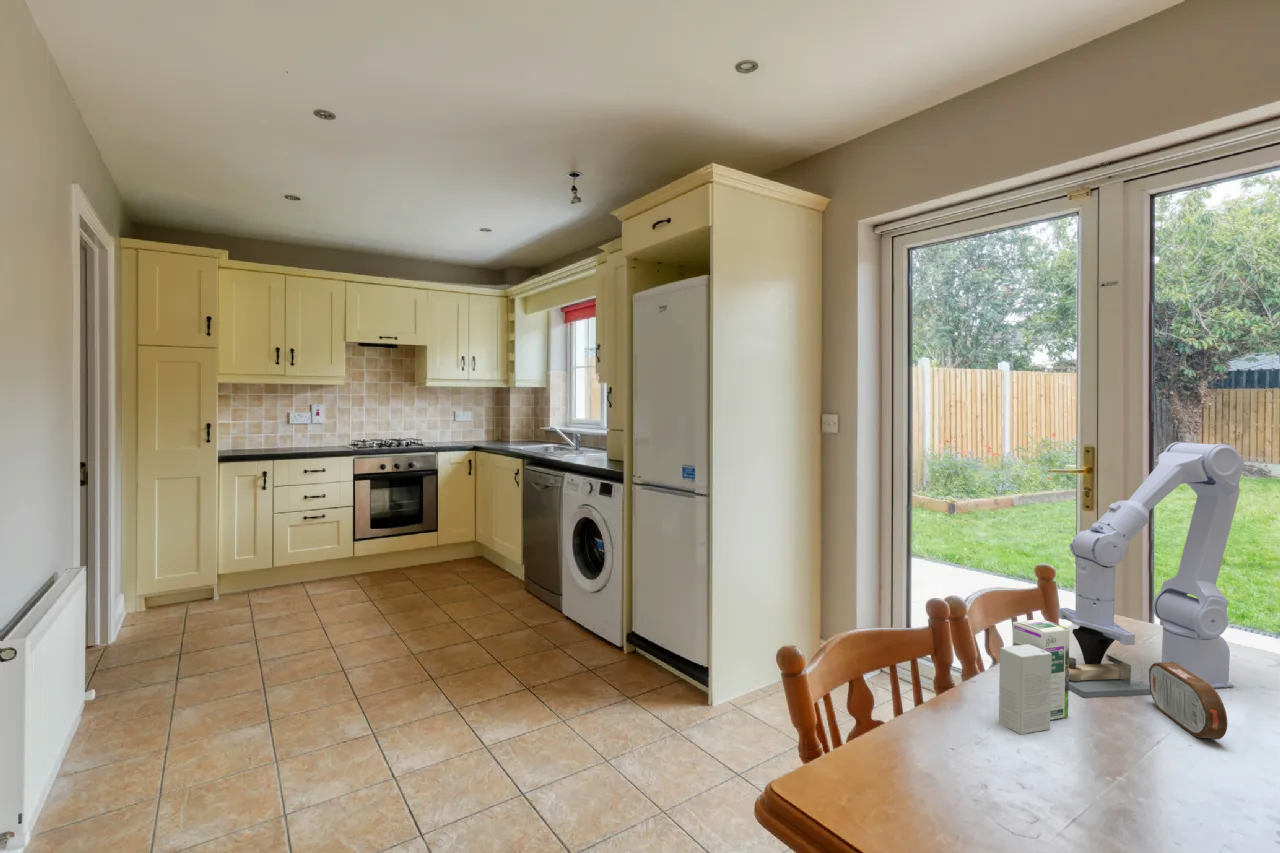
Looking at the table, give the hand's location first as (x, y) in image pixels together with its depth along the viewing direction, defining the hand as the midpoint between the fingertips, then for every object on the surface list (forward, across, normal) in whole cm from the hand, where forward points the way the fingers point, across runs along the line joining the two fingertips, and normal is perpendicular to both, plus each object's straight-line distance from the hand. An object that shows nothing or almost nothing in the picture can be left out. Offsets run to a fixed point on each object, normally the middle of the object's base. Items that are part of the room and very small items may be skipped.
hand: (1092, 669), depth 115 cm
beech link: (+1, +2, -1) cm, 2 cm away
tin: (+2, +17, 0) cm, 17 cm away
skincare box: (+2, +15, -26) cm, 30 cm away
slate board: (+2, +1, -1) cm, 2 cm away
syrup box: (+2, +11, -20) cm, 23 cm away
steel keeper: (+1, +3, +3) cm, 4 cm away
